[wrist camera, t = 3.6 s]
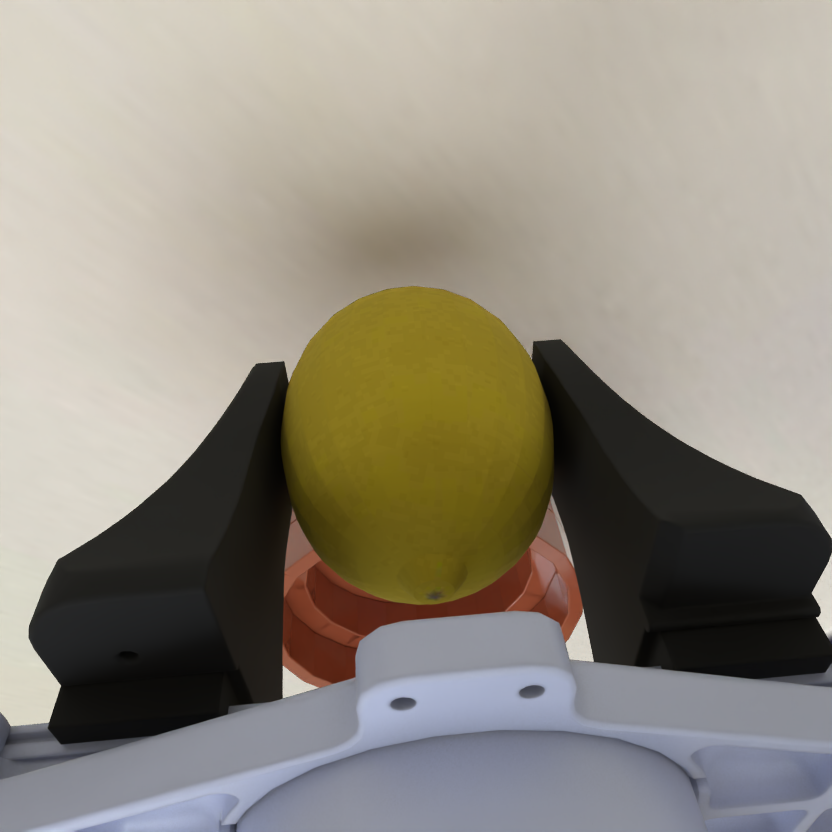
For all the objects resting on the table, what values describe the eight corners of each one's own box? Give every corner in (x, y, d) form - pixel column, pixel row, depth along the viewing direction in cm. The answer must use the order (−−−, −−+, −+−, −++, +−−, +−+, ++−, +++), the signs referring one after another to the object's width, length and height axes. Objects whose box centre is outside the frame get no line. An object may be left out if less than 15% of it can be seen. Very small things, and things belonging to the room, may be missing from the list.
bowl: (613, 477, 29) (649, 567, 26) (466, 632, 36) (479, 720, 32) (341, 383, 25) (341, 476, 21) (232, 579, 32) (219, 674, 28)
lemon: (281, 396, 19) (250, 674, 13) (310, 202, 15) (286, 456, 9) (478, 423, 20) (535, 689, 14) (546, 247, 17) (660, 500, 10)
